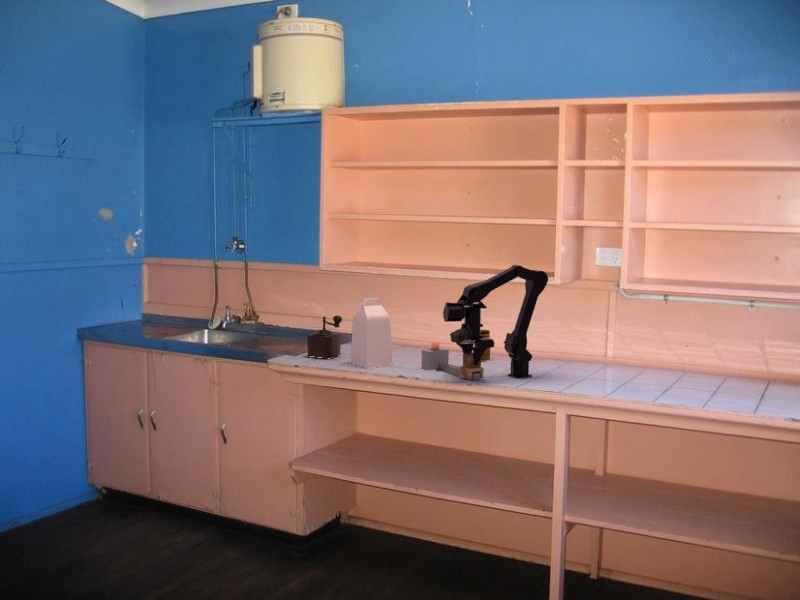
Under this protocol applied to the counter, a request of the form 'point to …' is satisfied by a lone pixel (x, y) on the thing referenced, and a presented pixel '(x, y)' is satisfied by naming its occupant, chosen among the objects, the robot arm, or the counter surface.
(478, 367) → the carriage
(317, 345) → the manual coffee grinder
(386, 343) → the milk
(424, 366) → the grey peg holder
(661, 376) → the counter surface
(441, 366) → the rail
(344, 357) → the counter surface
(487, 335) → the condiment
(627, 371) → the counter surface
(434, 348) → the brown rounded piece
